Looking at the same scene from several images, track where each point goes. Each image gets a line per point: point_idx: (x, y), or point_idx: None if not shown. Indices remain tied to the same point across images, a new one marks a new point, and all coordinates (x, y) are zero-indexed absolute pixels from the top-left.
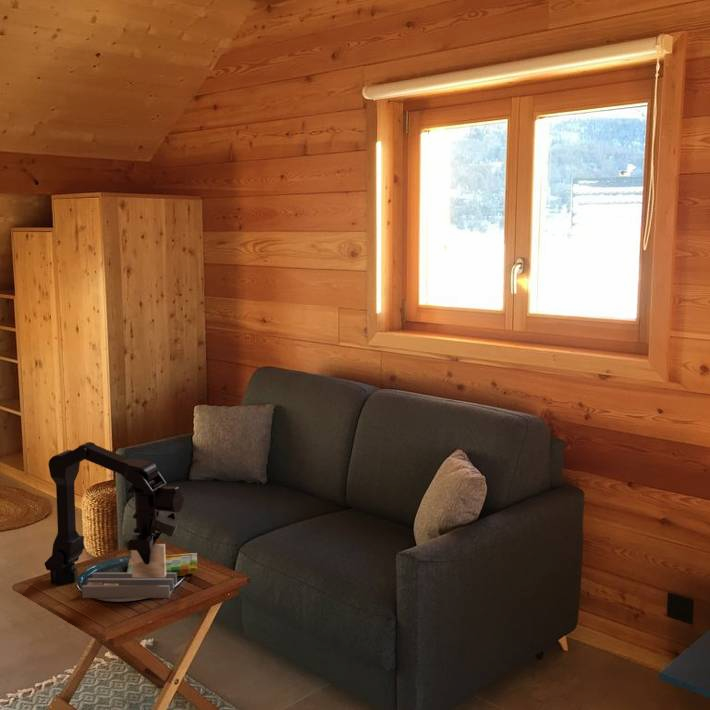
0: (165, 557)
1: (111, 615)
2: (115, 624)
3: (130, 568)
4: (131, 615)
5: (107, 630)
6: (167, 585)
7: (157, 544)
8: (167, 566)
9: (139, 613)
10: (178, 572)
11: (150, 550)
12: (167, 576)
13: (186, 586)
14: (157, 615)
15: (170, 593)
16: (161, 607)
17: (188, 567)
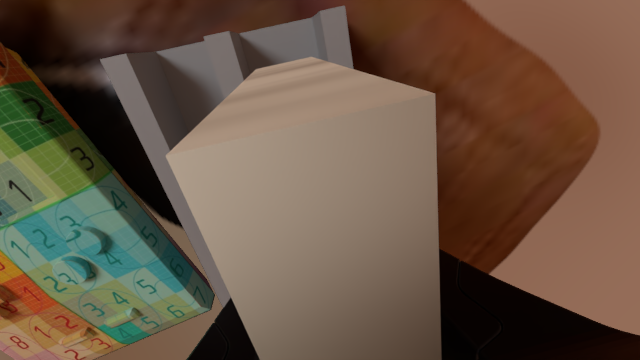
0: (248, 85)
1: (464, 199)
2: (534, 152)
3: (156, 324)
4: (466, 131)
5: (575, 155)
6: (326, 25)
7: (293, 328)
8: (18, 184)
9: (449, 108)
10: (31, 90)
11: (485, 301)
12: (161, 110)
13: (110, 3)
14: (468, 13)
15: (287, 27)
16: (386, 33)
17: None
